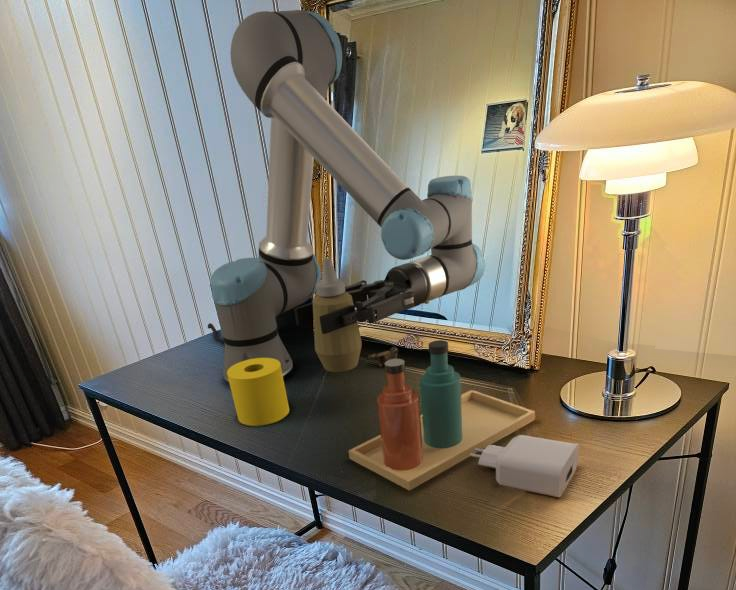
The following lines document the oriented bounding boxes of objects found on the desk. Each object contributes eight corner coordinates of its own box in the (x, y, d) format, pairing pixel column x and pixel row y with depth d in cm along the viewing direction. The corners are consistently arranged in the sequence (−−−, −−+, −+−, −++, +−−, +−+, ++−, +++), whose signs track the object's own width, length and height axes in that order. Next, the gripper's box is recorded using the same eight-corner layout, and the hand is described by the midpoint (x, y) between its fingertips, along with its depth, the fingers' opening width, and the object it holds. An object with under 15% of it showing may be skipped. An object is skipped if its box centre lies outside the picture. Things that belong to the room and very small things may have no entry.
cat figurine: (398, 367, 137) (393, 349, 135) (367, 371, 141) (362, 353, 139) (405, 362, 139) (400, 344, 137) (374, 366, 143) (368, 348, 141)
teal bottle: (416, 440, 109) (408, 345, 100) (443, 426, 113) (438, 333, 103) (443, 452, 105) (438, 354, 96) (470, 437, 108) (468, 341, 99)
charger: (484, 451, 105) (577, 468, 98) (460, 480, 99) (558, 500, 92) (483, 425, 102) (579, 441, 95) (459, 453, 96) (560, 472, 89)
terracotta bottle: (375, 461, 105) (364, 364, 96) (404, 446, 108) (396, 351, 99) (401, 474, 101) (392, 374, 92) (431, 458, 104) (425, 360, 95)
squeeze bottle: (359, 375, 108) (346, 264, 98) (312, 376, 110) (295, 267, 100) (368, 356, 115) (357, 251, 105) (324, 357, 116) (309, 253, 107)
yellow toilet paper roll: (268, 398, 132) (259, 354, 127) (299, 410, 126) (291, 364, 121) (228, 417, 127) (216, 371, 121) (258, 430, 120) (247, 383, 115)
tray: (349, 461, 107) (348, 450, 106) (471, 399, 121) (471, 389, 120) (409, 493, 97) (408, 481, 96) (535, 422, 111) (535, 411, 110)
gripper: (453, 314, 111) (348, 356, 100) (380, 296, 124) (280, 331, 113) (452, 269, 107) (342, 308, 96) (376, 255, 120) (272, 288, 109)
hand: (309, 321), depth 105 cm, fingers closed on squeeze bottle, 6 cm apart
